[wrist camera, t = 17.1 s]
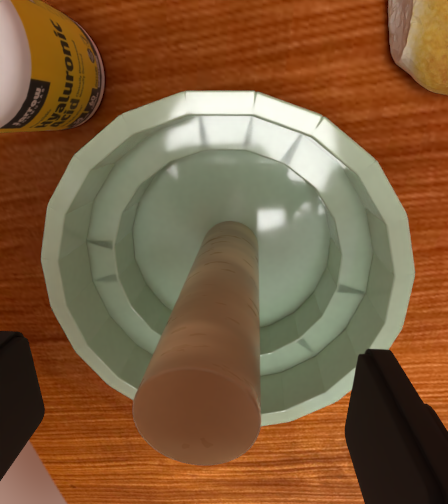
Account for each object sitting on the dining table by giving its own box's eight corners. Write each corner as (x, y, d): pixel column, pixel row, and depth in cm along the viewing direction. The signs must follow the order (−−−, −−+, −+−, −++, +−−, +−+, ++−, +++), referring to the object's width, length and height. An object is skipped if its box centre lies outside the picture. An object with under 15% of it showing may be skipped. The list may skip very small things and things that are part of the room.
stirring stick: (203, 271, 20) (137, 461, 9) (202, 219, 19) (125, 363, 8) (257, 273, 20) (258, 471, 9) (259, 221, 19) (264, 372, 8)
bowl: (116, 345, 23) (72, 415, 18) (83, 99, 18) (4, 90, 12) (346, 359, 22) (376, 440, 17) (391, 100, 16) (459, 90, 11)
